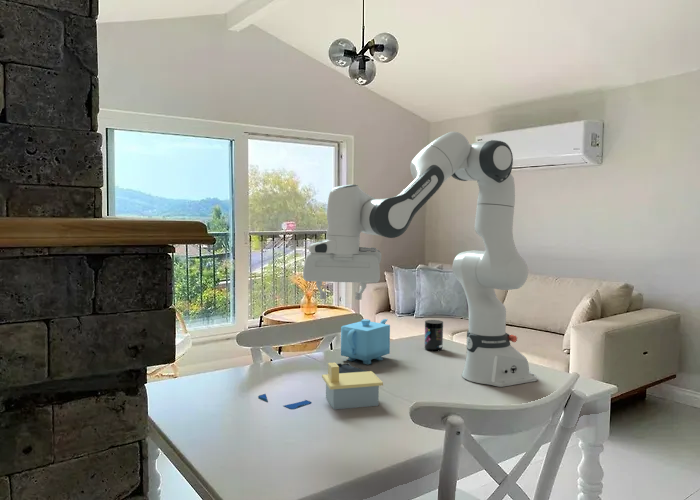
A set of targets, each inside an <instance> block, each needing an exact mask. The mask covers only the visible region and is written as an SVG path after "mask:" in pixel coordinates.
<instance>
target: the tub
mask: <svg viewBox="0 0 700 500" xmlns="http://www.w3.org/2000/svg"><path fill="white" fill-rule="evenodd" d="M379 387H380V386H370V387H357V388H344V389H331V390H330V389H329V387H328V386H327V384H326V383H325V398H326V400H327V401H328V403H329V405H330V407H331V408H332V410H334V411H335V410H344V409H356V408H367V407H377V406H379V397H380V396H379V395H380V393H379V391H380V390H379Z"/></svg>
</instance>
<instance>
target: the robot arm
mask: <svg viewBox="0 0 700 500" xmlns="http://www.w3.org/2000/svg"><path fill="white" fill-rule="evenodd" d="M513 156H514V154H513V153H512V149H511V147H510V146H509V144H508V143H506V142H504V141H502V140H496V139H495V140H493V139H491V140H488V141H487V140H486V141H478V142H473V143H470V142H469V141H468V139H467V137H466V136H465V135H464V134H462V133H460V132H459V131H449V132H447V133H444V134H442V135H441V136H439V137H437V138H435V139H434V140H432V141H431V142H430V143H429V144H427V145H426V146H424V147H423V148H422V149H421V150H420V151H419V152H418V153H417V154H416V155H415V156H414V158H413V159H411V161H410V174H411V177H412V179H413V181H411V182H410V183H409V184H408V185H407V187H405V188H404V189H403V190H402V191H401V192H400V193H399V194H397V195H395V196H392V197H387V198H386V197H385V198H375V197H373V196H371V195H369V194H368V193H366V192H365V191H364V190H362V189H361V188H360V186H359V185H358V184H345V185H338V186H335V187H332V188H331V190H330V191H329V194H328V199H327V208H326V221H327V230H326V234H325V239H323V240H319V241H317V242H313V243H310V244H309V245H308V251H309V253H308V254H307V255H306V257H305V260H304V262H303V263H304V264H303V270H302V271H303V272H302V279H303V280H304V281H305V282H314V283H315V282H316V283H315V285H316V288H317V289H318V291H319V299H320V300H327V297H326V296H327V292H326V291H323V290H322V288H321V287H323V283H328V282H330V283H359V285H360V286H359V287H360V289H359V290H358V291H356V292H355V300H358V301H359V300H362V299H363V296H362V295H363V292H364V291H365V290H366V289H367V283H368V284H369V283H371V284H377V283H378V282H379V281H380V280H381V267H380V264H381V262H382V252H381V251H380V250H379V249H377V247H361V246H360V243H361V242H360V240H361V233H363V234H365V235H373V236H381V237H383V238H384V237H385V238H388V239H395V238H398V237H400V236H402V235H403V234H405V233H406V231H407V230H408V228H409V226H410V224H411V222H412V220H413V219H414V217H415V215H416V214H417V212H418V211H419V210H420V209H421V208H422V207H423V206H424V205H425V204H426V203H427V202H428V201H429V200H430V199H431V198H432V197H433V196H434V195H435V194H436V193H437V192H438V190H439V189H440V188H441V186H442V185H443V184H444V183H445V182H446V181H447V180H448V179H449V178H450V177H451V178H454V179H455V180H457V181H462V182H467V181H476V183H477V185H478V196H477V200H476V201H477V202H476V210H475V218H474V219H475V221H474V230H475V233H476V234H477V236H479V237H480V238H481V239H482V241H483V246H484V250H476V249H473V250H466V251H462V252H459V253H458V254H456V256H455V257H454V259H453V261H452V275H453V276H454V277H455V279H456V280H457V281H458V282H459V284H460V285H461V287H462V289H463V292H464V294H465V298H466V301H467V308H468V309H467V310H468V330H467V332H466V357H465V363H464V367H463V370H462V373H461V377H462V378H464V379H465V380H467V381H469V382H473V383H475V384H476V383H477V384H484V385H490V386H494V387H499V388H502V387H508V386H514V385H520V384H524V383H525V384H526V383H532V382H536V381H538V379H537V375H536V374H535V373H534V372H532V371H530V366H529V362H528V359H527V357H526V356H525V355H523V354H522V353H521V352H520V351H519V350H518V349H516V348H515V347H514V346H513V345H512V344H511V342H512V343H517V341H518V337H517V335H514V334H509V333H508V332H506V326H507V325H506V324H507V309H506V306H505V305H504V303H503V302H502V301H501V300H500V299H499V298H498V297H497V294H496V291H495V289H496V290H501V291H510V290H511V291H512V290H518V289H520V288H522V287H523V286H524V285H525V283H526V282H527V280H528V277H529V268H528V264H527V262H526V260H525V259H524V258H523V257H522V256H521V255H520V253H519V252H518V249H517V247H516V245H515V241H514V234H513V231H514V229H513V226H514V214H515V213H514V212H515V203H516V187H515V178H514V176H513V175H512V174H511V173H512V169H513V166H514V165H513V164H514V161H513V160H514V157H513Z"/></svg>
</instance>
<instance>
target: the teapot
mask: <svg viewBox="0 0 700 500" xmlns="http://www.w3.org/2000/svg"><path fill="white" fill-rule="evenodd" d="M388 321H389V320H388V318H383V319H381V321H380V322H375V321H372V320H371V319H369V318H364V319H361V321H357V322H356V321H355V322H353V323H349V324H345V325H342V326H341V327H340V356H343V357H345V358H347V361H349V362H352V361H356V360H359V361H362V364H363V365H371V364H372V360H375V361H383V360H384V358H383V357H385V356H387V355H389V354H390V352H391V351H390V349H391V348H390V347H391V325H390V324H387V323H386V322H388Z"/></svg>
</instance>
